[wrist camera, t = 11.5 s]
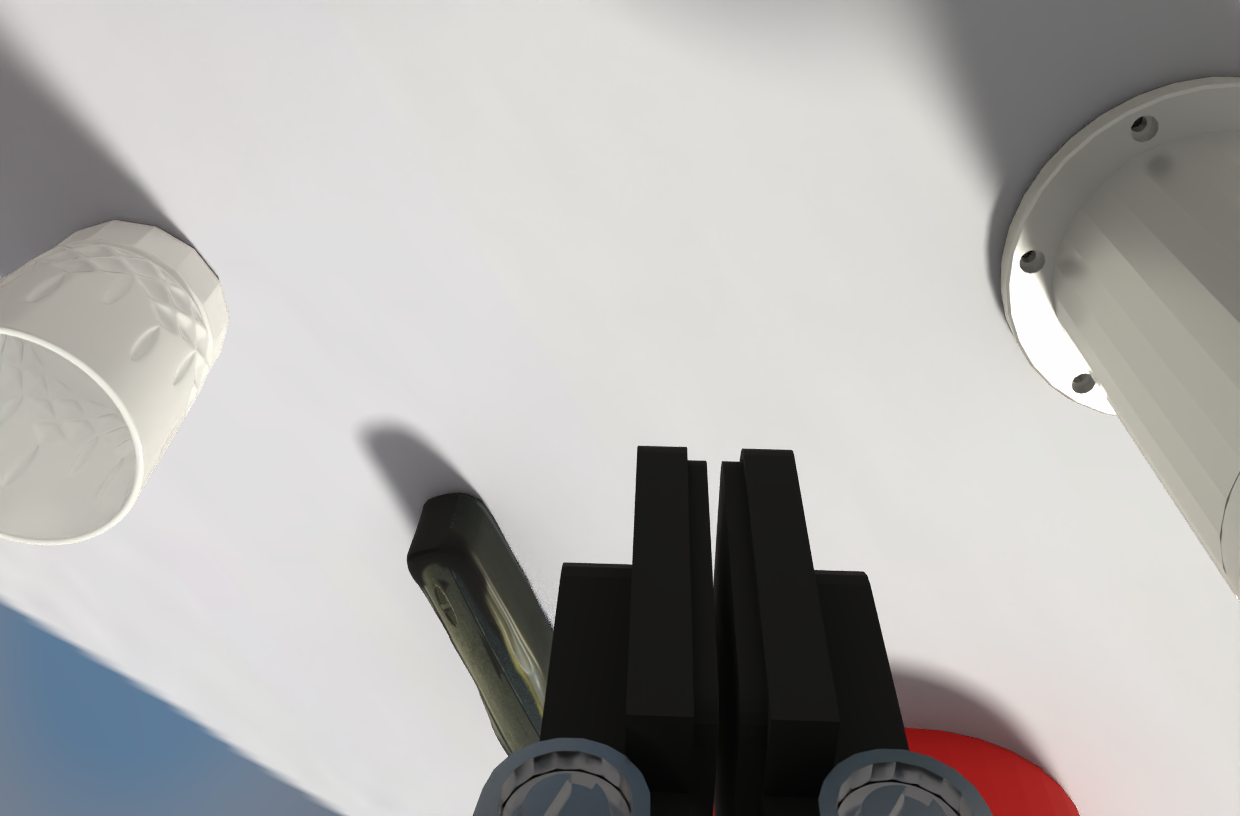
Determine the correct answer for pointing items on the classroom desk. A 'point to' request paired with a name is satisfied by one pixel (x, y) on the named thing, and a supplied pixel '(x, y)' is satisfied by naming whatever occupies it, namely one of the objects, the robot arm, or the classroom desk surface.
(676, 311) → the classroom desk surface
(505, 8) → the classroom desk surface
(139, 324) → the white cup
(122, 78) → the classroom desk surface
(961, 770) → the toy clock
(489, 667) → the mobile phone
